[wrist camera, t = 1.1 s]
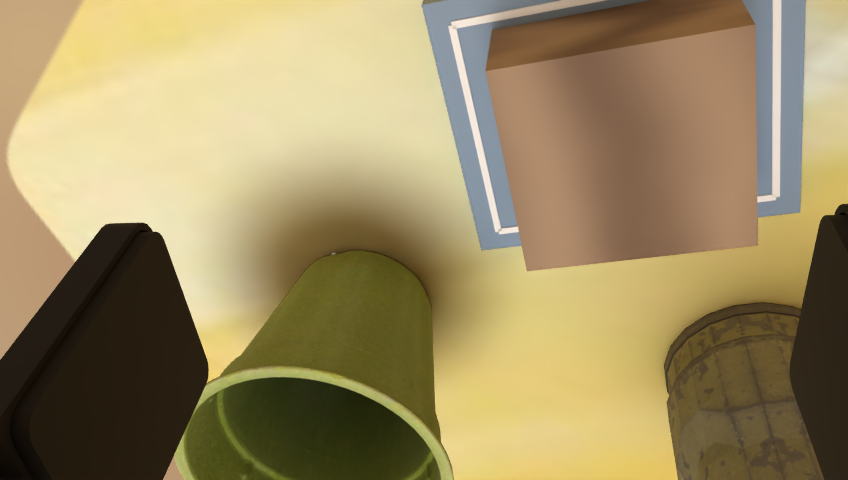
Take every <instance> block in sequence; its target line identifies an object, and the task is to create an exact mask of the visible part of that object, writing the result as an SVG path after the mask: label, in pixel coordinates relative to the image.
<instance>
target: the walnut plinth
mask: <svg viewBox="0 0 848 480" xmlns="http://www.w3.org/2000/svg"><path fill="white" fill-rule="evenodd" d="M485 72H486V77H487V82H488V87H489V91H490V96H491V101H492V106H493V110H494V115H495V120H496V125H497V130H498V134H499V139H500V144H501V149H502V153H503V158H504V163H505V168H506V173H507V177H508V182H509V187H510V192H511V196H512V201H513V206H514V211H515V216H516V220H517V225H518V230H519V235H520V239H521V244H522V249H523V254H524V259H525V263H526V268H527V271H533V270H542V269H551V268H560V267H569V266H578V265H587V264H596V263H605V262H614V261H622V260H631V259H640V258H649V257H658V256H667V255H676V254H685V253H694V252H703V251H712V250H721V249H730V248H739V247H748V246H757V245H758V217H757V119H756V24H755V23H754V21H753V19H752V17H751V16H750V14H749V12H748V10H747V9H746V7H745V5H744V3H743V2H742V0H650V1H644V2H639V3H634V4H628V5H623V6H617V7H612V8H607V9H601V10H596V11H590V12H585V13H580V14H574V15H569V16H564V17H558V18H553V19H547V20H542V21H537V22H531V23H526V24H520V25H515V26H510V27H504V28H499V29H494V30H492V32H491V38H490V45H489V51H488V57H487V64H486V70H485Z"/></svg>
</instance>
